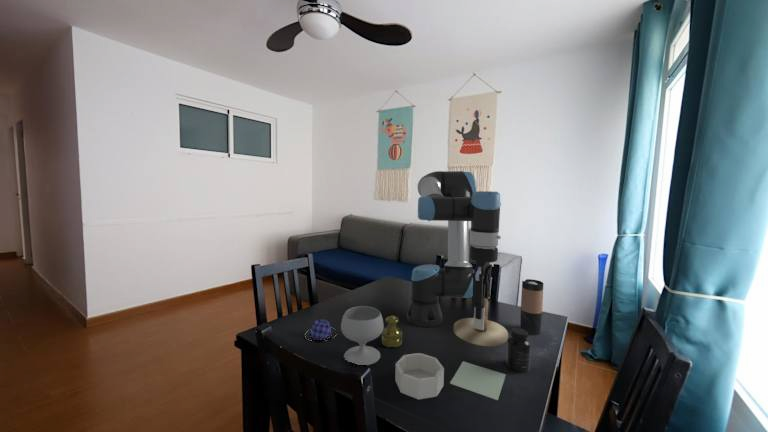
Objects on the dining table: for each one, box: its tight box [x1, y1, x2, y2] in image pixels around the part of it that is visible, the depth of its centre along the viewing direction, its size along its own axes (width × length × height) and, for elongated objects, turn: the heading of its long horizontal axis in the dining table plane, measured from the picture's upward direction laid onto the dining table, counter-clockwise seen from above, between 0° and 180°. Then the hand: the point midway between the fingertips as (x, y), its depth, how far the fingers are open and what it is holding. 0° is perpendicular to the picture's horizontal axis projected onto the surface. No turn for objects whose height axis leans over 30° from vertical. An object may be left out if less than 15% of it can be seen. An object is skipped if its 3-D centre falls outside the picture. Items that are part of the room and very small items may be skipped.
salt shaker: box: [381, 315, 403, 348], centre depth 107 cm, size 7×7×10 cm
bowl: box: [394, 352, 445, 400], centre depth 84 cm, size 13×13×6 cm
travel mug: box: [519, 278, 544, 336], centre depth 117 cm, size 8×8×20 cm
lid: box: [453, 298, 509, 347], centre depth 85 cm, size 15×15×10 cm
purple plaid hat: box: [304, 319, 337, 342], centre depth 113 cm, size 12×12×5 cm
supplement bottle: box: [505, 327, 532, 374], centre depth 93 cm, size 7×7×12 cm
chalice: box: [340, 305, 385, 366], centre depth 98 cm, size 14×14×15 cm
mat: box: [449, 361, 507, 401], centre depth 87 cm, size 13×13×1 cm
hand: (480, 325), depth 86 cm, fingers closed on lid, 3 cm apart
